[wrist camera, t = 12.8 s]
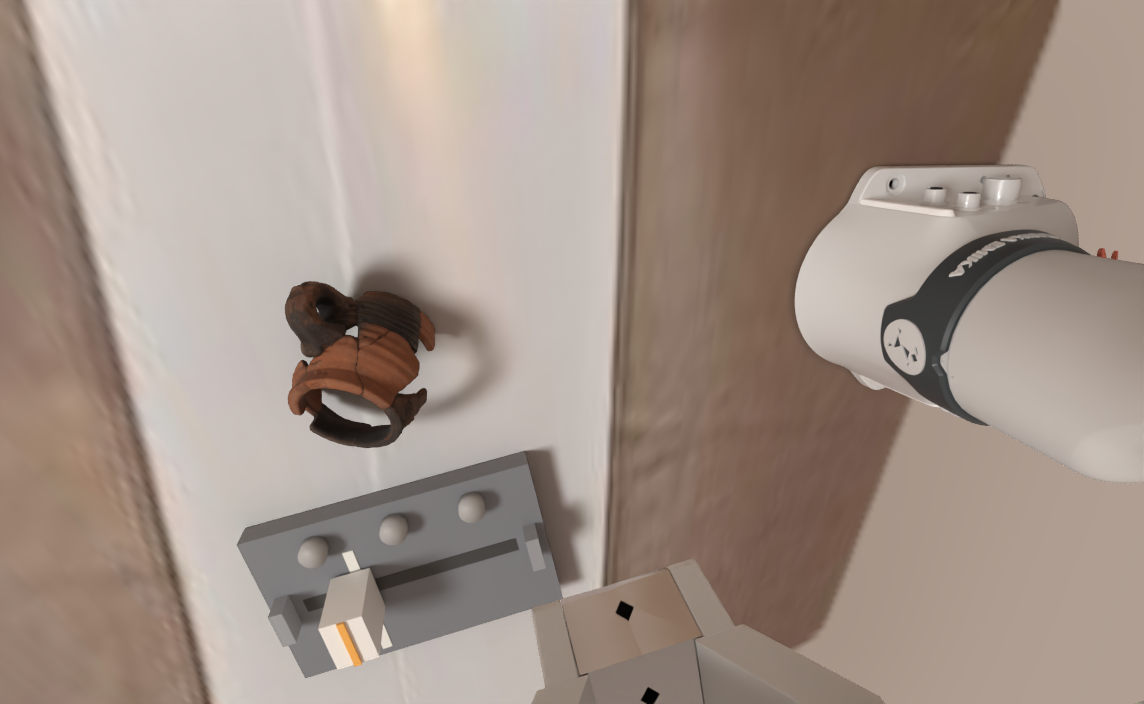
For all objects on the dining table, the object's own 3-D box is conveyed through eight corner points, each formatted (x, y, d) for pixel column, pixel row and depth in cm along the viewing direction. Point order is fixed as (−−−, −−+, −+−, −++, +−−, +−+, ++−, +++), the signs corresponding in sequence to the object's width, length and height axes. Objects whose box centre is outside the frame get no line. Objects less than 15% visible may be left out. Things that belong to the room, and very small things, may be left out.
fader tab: (369, 567, 46) (361, 618, 41) (385, 606, 48) (379, 659, 43) (330, 579, 46) (317, 631, 41) (347, 617, 47) (337, 672, 43)
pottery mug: (470, 351, 45) (443, 441, 39) (374, 380, 48) (338, 467, 43) (363, 227, 37) (312, 317, 32) (259, 273, 41) (197, 361, 35)
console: (524, 451, 48) (531, 477, 44) (558, 582, 53) (567, 616, 50) (245, 528, 45) (227, 563, 42) (310, 658, 51) (300, 699, 47)
